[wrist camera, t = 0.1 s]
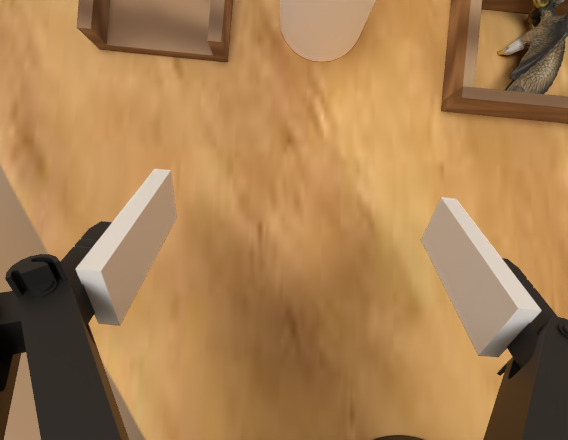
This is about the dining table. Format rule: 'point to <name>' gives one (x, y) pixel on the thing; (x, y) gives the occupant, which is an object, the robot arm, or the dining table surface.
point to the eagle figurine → (539, 49)
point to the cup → (323, 26)
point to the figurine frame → (463, 67)
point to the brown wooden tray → (159, 26)
